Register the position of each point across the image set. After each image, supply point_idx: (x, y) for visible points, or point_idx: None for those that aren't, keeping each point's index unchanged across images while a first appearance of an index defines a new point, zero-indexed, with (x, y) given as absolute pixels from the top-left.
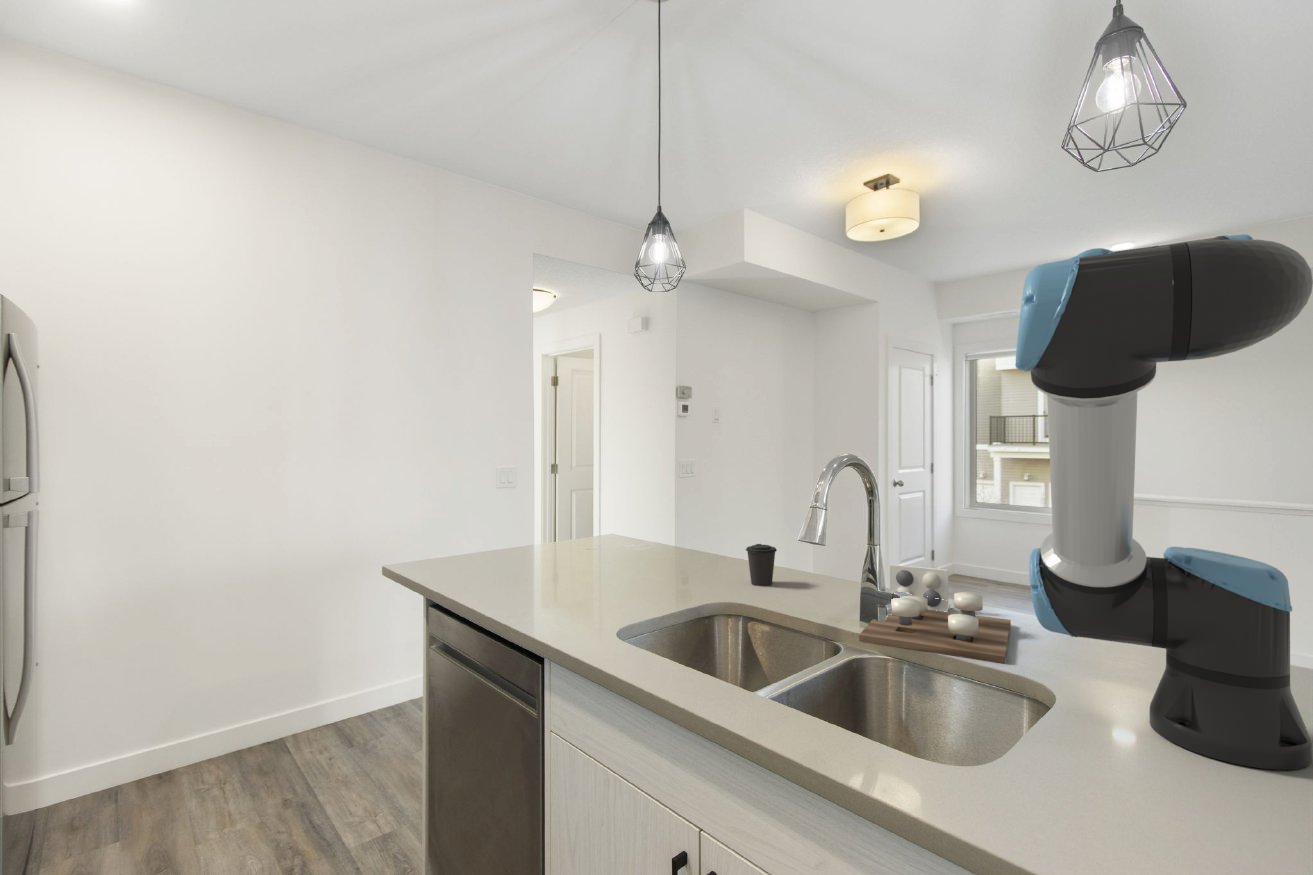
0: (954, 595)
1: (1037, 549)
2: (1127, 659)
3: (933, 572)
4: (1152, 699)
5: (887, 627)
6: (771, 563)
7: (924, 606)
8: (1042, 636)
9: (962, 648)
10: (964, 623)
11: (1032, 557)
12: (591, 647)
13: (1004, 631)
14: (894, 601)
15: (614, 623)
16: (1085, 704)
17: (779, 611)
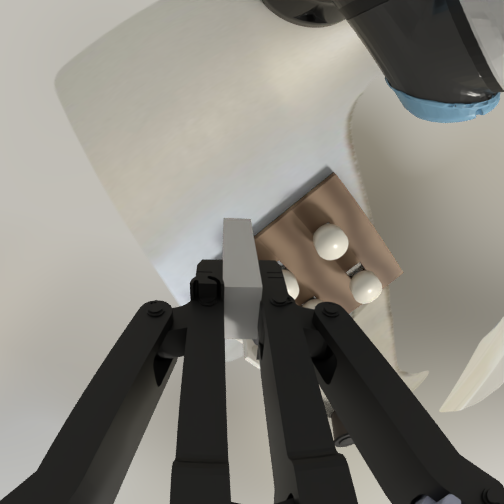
0: (295, 297)
1: (491, 104)
2: (189, 138)
3: (258, 361)
4: (343, 17)
5: None
6: (342, 425)
7: (314, 304)
8: (213, 227)
9: (354, 209)
10: (343, 232)
11: (499, 99)
12: None
13: (261, 239)
14: (379, 291)
15: (489, 338)
16: (353, 69)
17: (391, 350)
